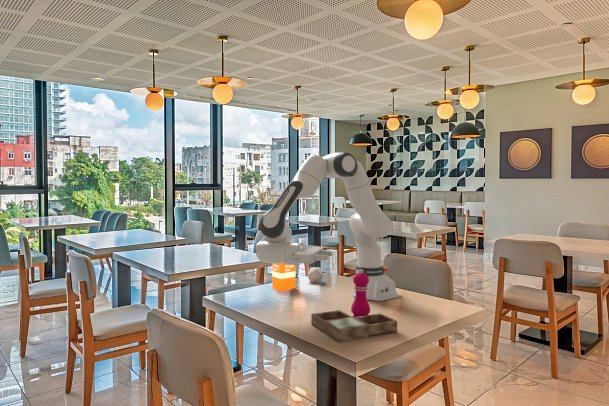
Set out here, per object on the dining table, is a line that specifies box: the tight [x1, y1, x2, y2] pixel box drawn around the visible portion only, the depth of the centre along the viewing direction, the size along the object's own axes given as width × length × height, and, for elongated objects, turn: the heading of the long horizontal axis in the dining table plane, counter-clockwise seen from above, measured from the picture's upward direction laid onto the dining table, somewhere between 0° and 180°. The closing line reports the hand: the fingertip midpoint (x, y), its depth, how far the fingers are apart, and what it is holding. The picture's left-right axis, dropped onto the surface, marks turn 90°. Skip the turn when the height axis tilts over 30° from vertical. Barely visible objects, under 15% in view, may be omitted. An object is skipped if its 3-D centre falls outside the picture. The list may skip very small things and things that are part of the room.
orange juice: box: [271, 263, 297, 292], centre depth 218 cm, size 8×9×20 cm
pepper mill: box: [350, 269, 371, 317], centre depth 168 cm, size 7×7×20 cm
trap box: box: [310, 309, 398, 343], centre depth 160 cm, size 24×20×4 cm
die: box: [307, 266, 324, 284], centre depth 232 cm, size 8×9×10 cm
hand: (329, 255), depth 171 cm, fingers open, 8 cm apart
